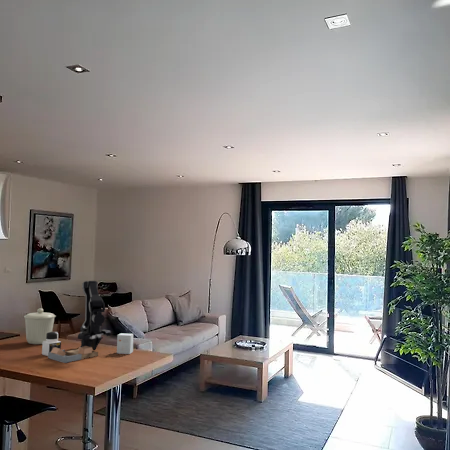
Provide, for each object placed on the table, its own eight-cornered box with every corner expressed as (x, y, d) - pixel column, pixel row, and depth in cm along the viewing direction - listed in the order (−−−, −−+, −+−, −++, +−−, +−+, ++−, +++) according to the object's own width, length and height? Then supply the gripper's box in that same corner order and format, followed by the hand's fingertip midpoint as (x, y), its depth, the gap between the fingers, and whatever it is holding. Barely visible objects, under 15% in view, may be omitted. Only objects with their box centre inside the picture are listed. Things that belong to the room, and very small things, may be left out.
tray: (64, 355, 239) (64, 349, 240) (81, 359, 231) (81, 353, 231) (48, 358, 231) (48, 352, 232) (65, 363, 223) (65, 357, 223)
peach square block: (86, 351, 241) (86, 346, 241) (91, 352, 238) (92, 347, 238) (78, 353, 237) (78, 347, 237) (84, 354, 234) (84, 348, 234)
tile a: (53, 347, 233) (50, 352, 231) (59, 348, 230) (56, 353, 228) (60, 351, 236) (56, 356, 234) (65, 353, 233) (62, 358, 231)
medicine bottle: (48, 356, 235) (50, 334, 236) (41, 354, 239) (42, 332, 240) (60, 354, 241) (61, 332, 242) (53, 352, 245) (54, 330, 246)
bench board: (82, 351, 248) (82, 348, 248) (97, 355, 240) (98, 352, 240) (65, 355, 239) (65, 351, 239) (81, 359, 231) (81, 355, 231)
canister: (23, 340, 274) (25, 306, 275) (54, 339, 280) (56, 306, 281) (21, 346, 257) (23, 310, 258) (54, 345, 263) (56, 310, 264)
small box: (133, 352, 252) (133, 333, 252) (130, 354, 246) (130, 335, 247) (119, 351, 253) (120, 333, 253) (116, 353, 247) (117, 334, 248)
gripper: (99, 318, 255) (98, 345, 254) (72, 322, 240) (70, 350, 239) (112, 320, 249) (110, 348, 248) (84, 324, 234) (83, 354, 232)
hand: (93, 350), depth 242 cm, fingers closed
